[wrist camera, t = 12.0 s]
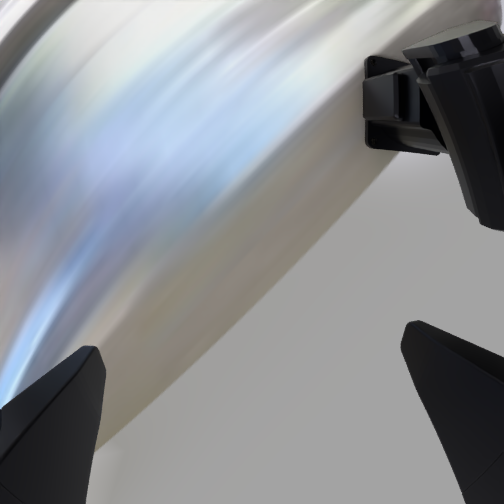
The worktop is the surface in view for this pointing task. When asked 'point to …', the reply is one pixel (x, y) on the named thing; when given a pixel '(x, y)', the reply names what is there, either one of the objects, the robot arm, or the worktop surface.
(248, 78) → the worktop surface
